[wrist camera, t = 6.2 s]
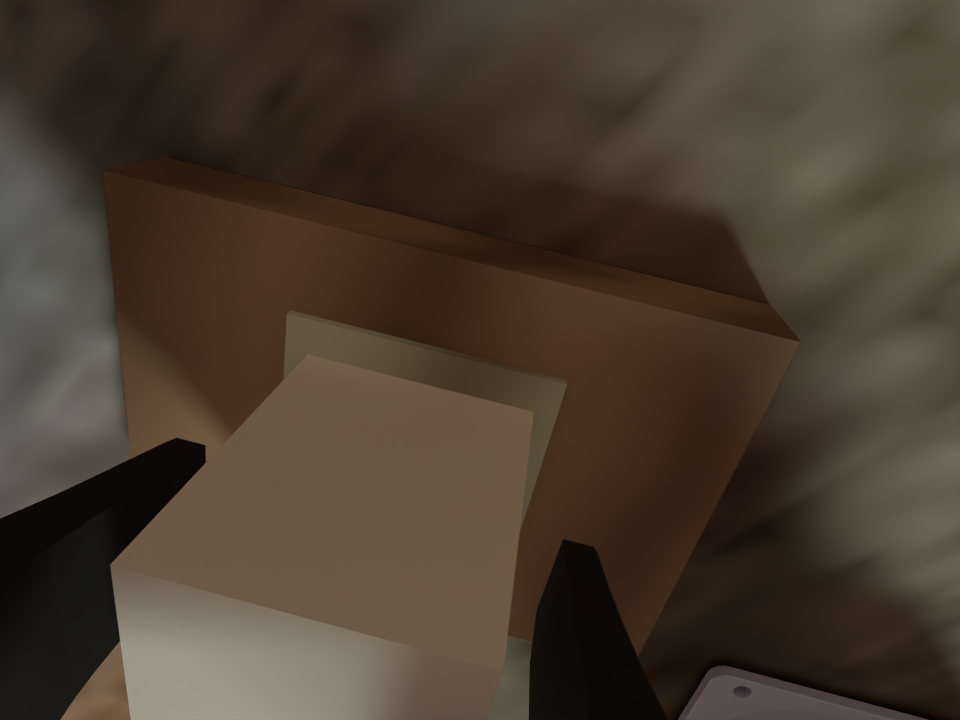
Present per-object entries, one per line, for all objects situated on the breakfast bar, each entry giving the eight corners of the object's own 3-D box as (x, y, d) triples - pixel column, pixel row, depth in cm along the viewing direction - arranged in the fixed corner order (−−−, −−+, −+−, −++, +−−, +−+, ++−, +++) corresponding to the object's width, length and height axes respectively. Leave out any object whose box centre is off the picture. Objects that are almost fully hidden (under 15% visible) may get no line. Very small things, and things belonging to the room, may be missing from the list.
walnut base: (770, 304, 13) (804, 346, 11) (626, 607, 17) (632, 675, 15) (165, 156, 13) (94, 171, 11) (181, 489, 18) (133, 540, 16)
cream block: (534, 411, 12) (502, 671, 7) (485, 575, 15) (434, 863, 9) (307, 354, 12) (110, 565, 7) (295, 525, 15) (138, 779, 10)
